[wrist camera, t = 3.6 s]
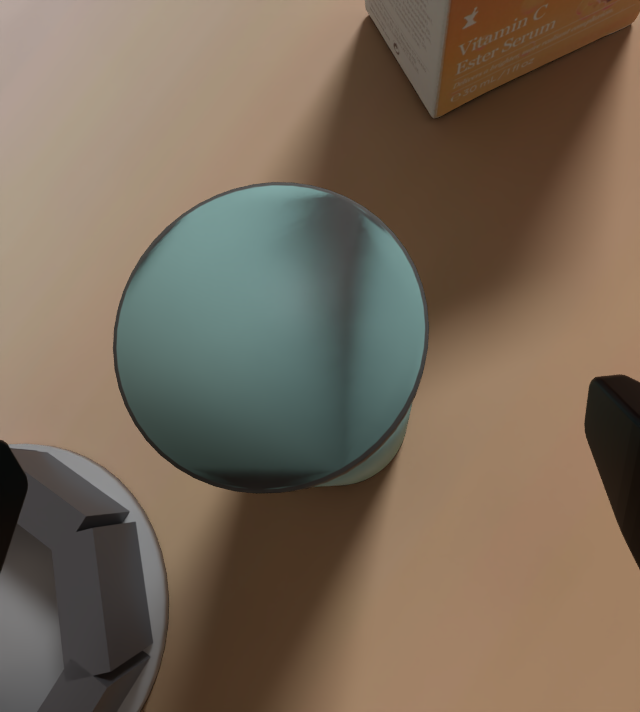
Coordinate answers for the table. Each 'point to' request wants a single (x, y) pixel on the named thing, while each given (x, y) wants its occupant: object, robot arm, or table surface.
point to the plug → (273, 340)
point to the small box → (487, 40)
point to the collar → (79, 592)
